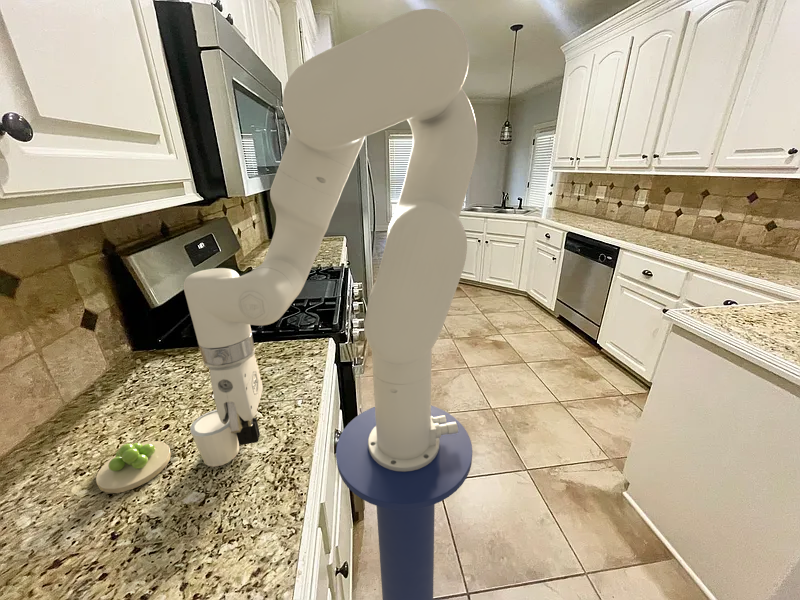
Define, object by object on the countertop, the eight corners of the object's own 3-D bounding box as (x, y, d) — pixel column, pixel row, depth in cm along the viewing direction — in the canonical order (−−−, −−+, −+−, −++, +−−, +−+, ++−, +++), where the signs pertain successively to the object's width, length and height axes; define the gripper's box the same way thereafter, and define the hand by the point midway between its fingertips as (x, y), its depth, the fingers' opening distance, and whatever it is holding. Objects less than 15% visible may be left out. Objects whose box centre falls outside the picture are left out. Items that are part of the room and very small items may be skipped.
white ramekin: (232, 469, 57) (224, 435, 54) (191, 470, 57) (180, 436, 54) (249, 438, 63) (242, 407, 61) (212, 440, 63) (203, 408, 61)
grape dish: (180, 441, 63) (173, 419, 61) (155, 486, 54) (146, 462, 52) (119, 450, 61) (110, 427, 60) (82, 499, 52) (70, 474, 50)
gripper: (242, 369, 48) (265, 470, 54) (261, 325, 61) (277, 410, 68) (183, 376, 46) (214, 479, 53) (216, 330, 60) (237, 416, 66)
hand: (249, 440), depth 60 cm, fingers closed
